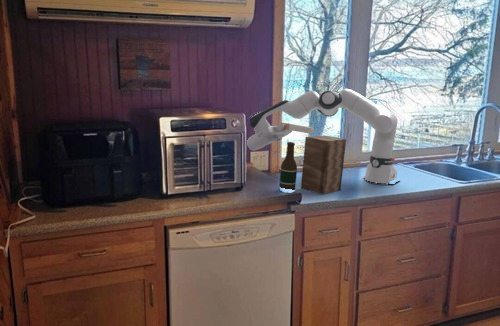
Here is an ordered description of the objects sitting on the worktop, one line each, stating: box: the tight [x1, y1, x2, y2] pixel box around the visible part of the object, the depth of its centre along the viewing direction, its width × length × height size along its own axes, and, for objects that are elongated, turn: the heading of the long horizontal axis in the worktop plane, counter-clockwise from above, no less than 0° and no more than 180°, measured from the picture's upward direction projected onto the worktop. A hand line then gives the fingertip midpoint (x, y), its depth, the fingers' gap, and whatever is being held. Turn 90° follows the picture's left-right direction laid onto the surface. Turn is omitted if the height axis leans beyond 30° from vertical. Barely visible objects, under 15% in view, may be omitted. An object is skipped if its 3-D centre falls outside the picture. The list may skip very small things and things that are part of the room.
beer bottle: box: [278, 141, 298, 191], centre depth 218 cm, size 8×8×24 cm
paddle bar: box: [280, 122, 315, 135], centre depth 236 cm, size 2×20×3 cm, turn 46°
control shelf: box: [300, 134, 347, 195], centre depth 227 cm, size 16×13×26 cm
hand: (286, 125), depth 241 cm, fingers closed on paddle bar, 2 cm apart
